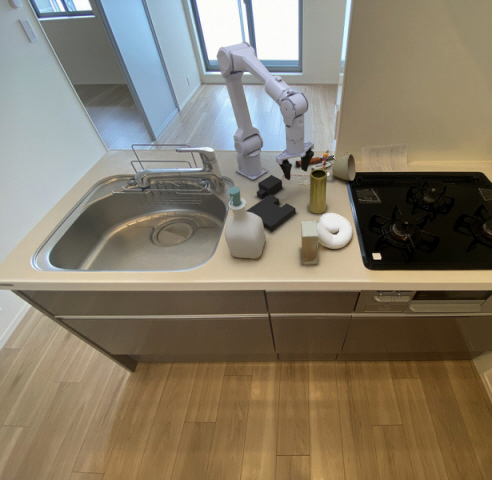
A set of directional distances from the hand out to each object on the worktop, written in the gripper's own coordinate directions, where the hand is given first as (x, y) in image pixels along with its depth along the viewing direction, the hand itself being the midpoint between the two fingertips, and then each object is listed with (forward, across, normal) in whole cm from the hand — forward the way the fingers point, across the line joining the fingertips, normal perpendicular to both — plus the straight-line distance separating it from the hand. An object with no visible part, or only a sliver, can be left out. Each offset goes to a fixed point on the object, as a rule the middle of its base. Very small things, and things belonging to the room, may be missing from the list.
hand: (296, 174), depth 96 cm
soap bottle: (+10, -27, -9) cm, 30 cm away
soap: (+10, +21, +9) cm, 25 cm away
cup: (+7, +20, +1) cm, 21 cm away
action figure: (+10, +19, +4) cm, 22 cm away
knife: (+8, +24, +9) cm, 27 cm away
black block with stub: (+10, -6, +10) cm, 15 cm away
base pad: (+10, -13, -2) cm, 16 cm away
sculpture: (+10, -4, -22) cm, 25 cm away
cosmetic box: (+10, -16, -24) cm, 31 cm away
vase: (+10, +1, -10) cm, 14 cm away
